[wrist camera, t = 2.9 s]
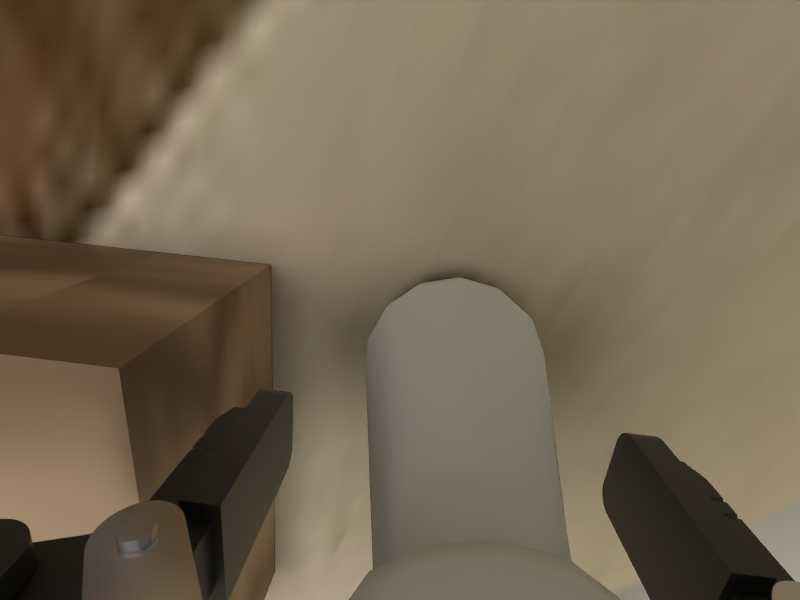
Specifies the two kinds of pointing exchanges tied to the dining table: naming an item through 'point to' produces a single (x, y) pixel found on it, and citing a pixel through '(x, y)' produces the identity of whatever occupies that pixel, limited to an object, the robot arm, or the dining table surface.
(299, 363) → the dining table surface
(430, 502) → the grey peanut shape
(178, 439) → the holder
